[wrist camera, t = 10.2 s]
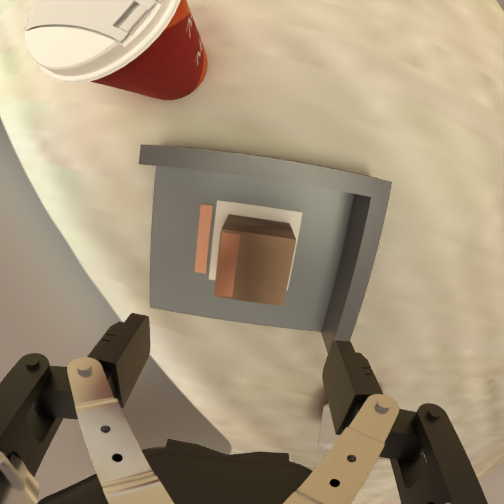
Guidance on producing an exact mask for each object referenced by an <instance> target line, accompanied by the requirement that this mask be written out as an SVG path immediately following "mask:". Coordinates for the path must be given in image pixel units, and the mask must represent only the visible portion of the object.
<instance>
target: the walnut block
mask: <svg viewBox="0 0 504 504" xmlns="http://www.w3.org/2000/svg"><path fill="white" fill-rule="evenodd" d="M295 244H296V238H295V235H294V233H293V230H292V228H291V225H290V223H286V222H279V221H273V220H266V219H259V218H252V217H245V216H238V215H231V214H229V215H228V217H227V219H226V221H225V223H224V225H223V227H222V229H221V233H220V242H219V251H218V260H217V269H216V278H215V288H214V297H220V298H226V299H233V300H240V301H247V302H254V303H262V304H269V305H277V306H283V304H284V299H285V295H286V290H287V285H288V280H289V275H290V270H291V265H292V260H293V255H294V250H295Z"/></svg>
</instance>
